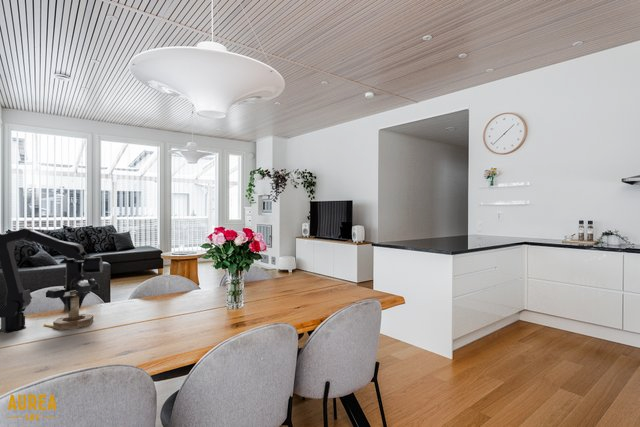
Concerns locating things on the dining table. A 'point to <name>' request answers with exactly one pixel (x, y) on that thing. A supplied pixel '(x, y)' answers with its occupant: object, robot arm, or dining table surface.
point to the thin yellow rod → (48, 325)
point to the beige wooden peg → (74, 306)
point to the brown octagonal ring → (73, 322)
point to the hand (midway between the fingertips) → (73, 310)
